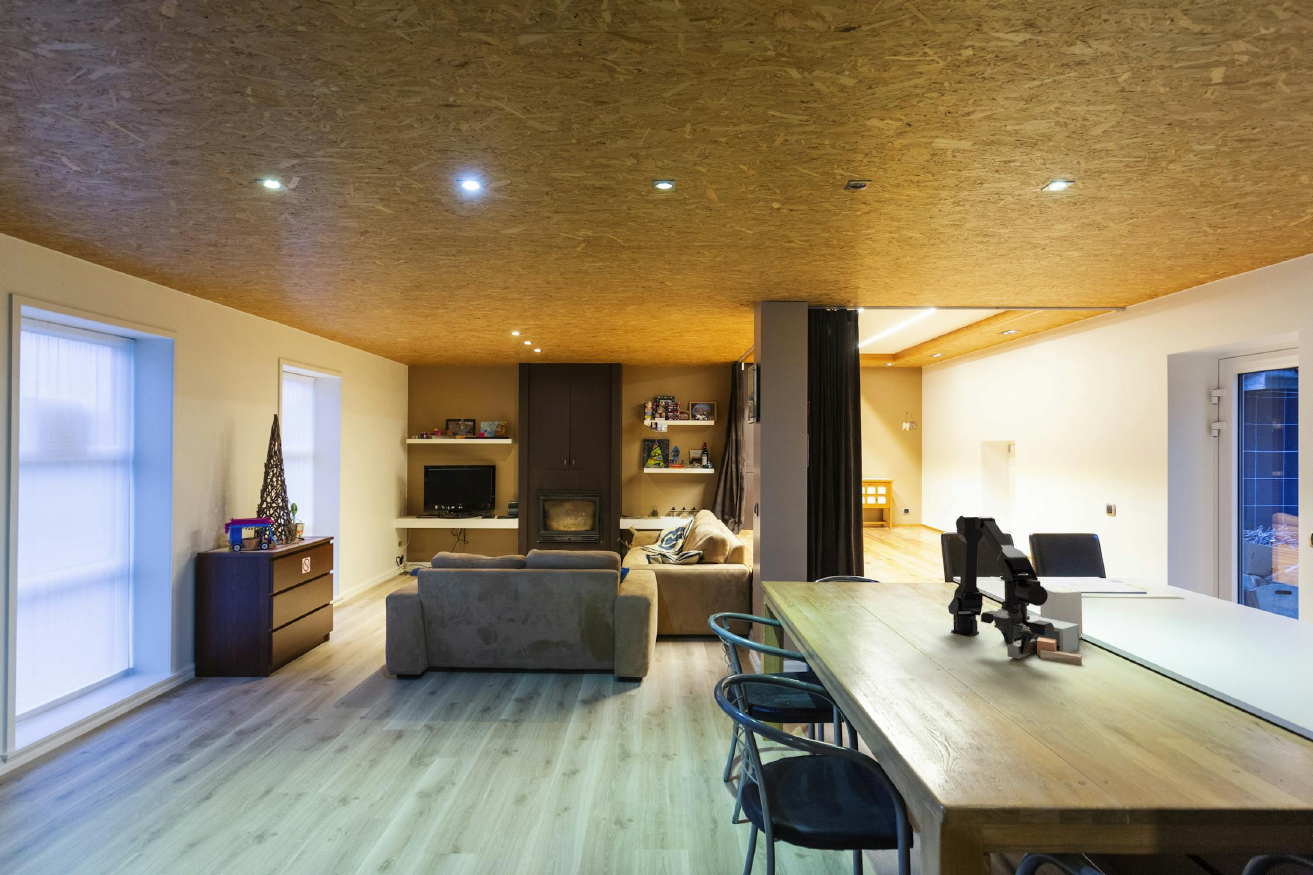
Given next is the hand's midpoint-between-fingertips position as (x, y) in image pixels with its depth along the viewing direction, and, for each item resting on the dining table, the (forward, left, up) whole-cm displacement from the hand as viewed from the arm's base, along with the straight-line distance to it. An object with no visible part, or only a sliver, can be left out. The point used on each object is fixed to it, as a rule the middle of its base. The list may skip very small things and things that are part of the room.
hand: (1016, 651), depth 192 cm
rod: (+8, +9, -2) cm, 12 cm away
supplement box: (-6, +38, -2) cm, 38 cm away
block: (+3, +11, -2) cm, 12 cm away
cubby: (-4, +21, -2) cm, 21 cm away
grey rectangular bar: (-1, +6, -2) cm, 6 cm away
